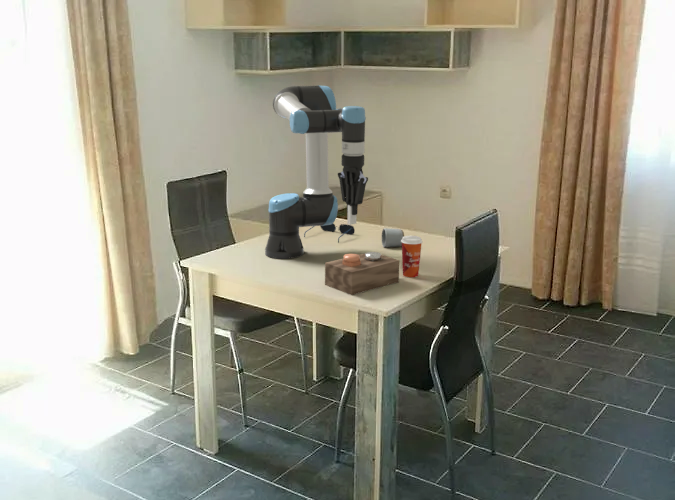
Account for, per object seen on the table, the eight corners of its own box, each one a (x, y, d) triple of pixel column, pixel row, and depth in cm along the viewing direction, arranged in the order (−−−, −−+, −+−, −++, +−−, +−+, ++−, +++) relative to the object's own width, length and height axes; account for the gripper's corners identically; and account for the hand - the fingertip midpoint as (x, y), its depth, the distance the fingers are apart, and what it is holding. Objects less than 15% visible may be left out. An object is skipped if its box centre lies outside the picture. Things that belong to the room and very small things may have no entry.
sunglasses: (355, 236, 333) (354, 225, 331) (338, 248, 321) (338, 237, 319) (321, 230, 341) (320, 220, 339) (303, 242, 330) (302, 231, 328)
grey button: (361, 274, 272) (361, 253, 270) (373, 271, 276) (373, 251, 274) (372, 278, 268) (372, 257, 266) (384, 275, 272) (384, 254, 269)
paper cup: (406, 279, 274) (407, 241, 270) (396, 273, 281) (397, 236, 277) (425, 277, 277) (426, 239, 273) (415, 271, 284) (416, 234, 280)
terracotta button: (339, 276, 266) (340, 255, 264) (352, 273, 269) (352, 252, 267) (350, 280, 262) (350, 259, 259) (362, 277, 265) (363, 256, 263)
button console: (325, 284, 268) (325, 262, 265) (371, 272, 281) (372, 251, 279) (351, 295, 257) (351, 272, 255) (398, 282, 271) (399, 260, 269)
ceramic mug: (404, 248, 313) (405, 229, 311) (385, 249, 312) (385, 230, 310) (397, 242, 323) (398, 224, 321) (378, 242, 322) (379, 224, 320)
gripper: (331, 152, 256) (331, 221, 263) (357, 157, 247) (356, 229, 253) (348, 150, 261) (347, 218, 268) (374, 155, 251) (373, 225, 258)
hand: (351, 223), depth 260 cm, fingers closed
